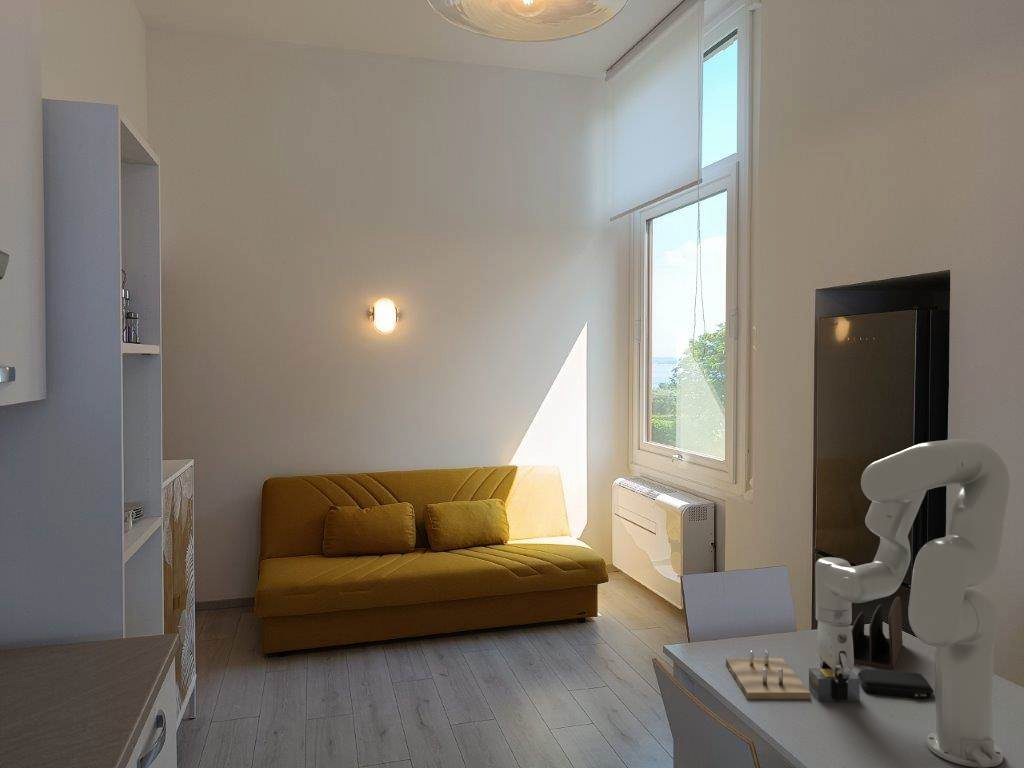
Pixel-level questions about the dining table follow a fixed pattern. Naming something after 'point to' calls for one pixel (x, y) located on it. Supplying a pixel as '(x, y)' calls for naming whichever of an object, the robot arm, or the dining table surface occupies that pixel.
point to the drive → (823, 684)
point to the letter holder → (878, 638)
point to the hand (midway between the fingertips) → (834, 692)
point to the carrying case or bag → (895, 683)
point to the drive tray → (767, 678)
